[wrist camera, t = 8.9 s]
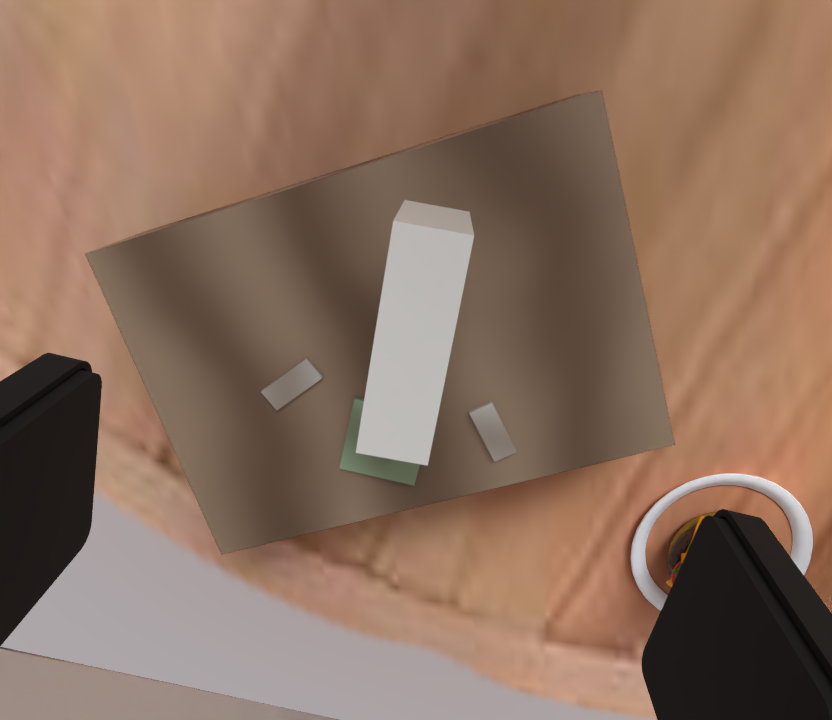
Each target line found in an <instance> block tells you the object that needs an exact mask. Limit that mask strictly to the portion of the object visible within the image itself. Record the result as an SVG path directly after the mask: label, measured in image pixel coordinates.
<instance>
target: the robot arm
mask: <svg viewBox="0 0 832 720" xmlns="http://www.w3.org/2000/svg"><path fill="white" fill-rule="evenodd" d="M101 388H102V381H101V377H100V375H99V374H96V373H92V369H91V365H90V364H89V363H88V362H86V361H82V360H77V359H73V358H69V357H65V356H60V355H56V354H52V353H47V354H44V355H42V356H41V357H39V358H37V359H36V360H34V361H33V362H31V363H29V364H28V365H26V366H24V367H23V368H21V369H20V370H18V371H16V372H15V373H13V374H12V375H10V376H8V377H7V378H5V379H3V380H2V381H0V646H1V645H2V644H3V642H4V641H5V640H6V639H7V638H8V636H9V635H10V634H11V633H12V631H13V630H14V629H15V628H16V627H17V626H18V624H19V623H20V622H21V621H22V619H23V618H24V617H25V616H26V615H27V613H28V612H29V611H30V610H31V609H32V607H33V606H34V605H35V604H36V603H37V602H38V600H39V599H40V598H41V597H42V596H43V594H44V593H45V592H46V591H47V589H48V588H49V587H50V586H51V585H52V584H53V582H54V581H55V580H56V579H57V577H58V576H59V575H60V574H61V573H62V572H63V570H64V569H65V568H66V567H67V566H68V564H69V563H70V562H71V561H72V560H73V558H74V557H75V556H76V554H77V553H78V552H79V551H80V550H81V549H82V547H83V546H84V544H85V542H86V540H87V537H88V535H89V532H90V528H91V522H92V509H93V495H94V482H95V468H96V455H97V441H98V428H99V414H100V401H101ZM642 672H643V676H644V679H645V682H646V685H647V688H648V692H649V695H650V698H651V701H652V704H653V707H654V710H655V713H656V716H657V719H658V720H832V614H831V612H830V611H829V610H828V608H827V607H826V605H825V604H824V603H823V601H822V600H821V599H820V597H819V596H818V595H817V593H816V592H815V590H814V589H813V588H812V586H811V585H810V584H809V582H808V581H807V579H806V578H805V577H804V575H803V574H802V573H801V571H800V570H799V568H798V567H797V566H796V564H795V563H794V562H793V560H792V559H791V557H790V556H789V555H788V553H787V552H786V551H785V549H784V548H783V546H782V545H781V544H780V542H779V541H778V540H777V538H776V537H775V535H774V534H773V533H772V531H771V530H770V529H769V527H768V526H767V524H766V523H765V522H764V521H763V520H762V519H761V518H758V517H754V516H750V515H745V514H741V513H737V512H733V511H728V510H724V509H722V510H719V511H718V512H717V513H716V514H715V515H714V516H709V515H708V516H706V517H704V518H703V519H702V521H701V523H700V524H699V527H698V529H697V531H696V533H695V536H694V538H693V540H692V542H691V545H690V547H689V549H688V551H687V554H686V556H685V558H684V560H683V563H682V565H681V567H680V569H679V572H678V574H677V576H676V578H675V581H674V583H673V585H672V588H671V590H670V592H669V594H668V597H667V599H666V601H665V603H664V606H663V608H662V610H661V612H660V615H659V617H658V619H657V621H656V624H655V626H654V628H653V630H652V633H651V635H650V637H649V639H648V642H647V644H646V646H645V649H644V652H643V657H642ZM0 720H338V719H332V718H328V717H323V716H319V715H314V714H310V713H305V712H301V711H296V710H291V709H286V708H282V707H277V706H273V705H268V704H264V703H259V702H254V701H250V700H245V699H241V698H236V697H232V696H227V695H222V694H218V693H213V692H209V691H204V690H199V689H195V688H190V687H186V686H181V685H177V684H172V683H167V682H163V681H158V680H153V679H148V678H143V677H139V676H134V675H129V674H125V673H120V672H115V671H110V670H106V669H101V668H97V667H92V666H87V665H83V664H78V663H73V662H68V661H64V660H59V659H55V658H50V657H45V656H41V655H36V654H31V653H26V652H22V651H17V650H12V649H8V648H3V647H0Z"/></svg>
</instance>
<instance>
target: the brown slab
mask: <svg viewBox="0 0 832 720" xmlns="http://www.w3.org/2000/svg"><path fill="white" fill-rule="evenodd" d="M404 200H408V201H414V202H419V203H425V204H430V205H436V206H441V207H447V208H452V209H457V210H463V211H468V212H470V216H471V221H472V227H473V232H474V240H473V244H472V249H471V254H470V259H469V264H468V269H467V274H466V279H465V284H464V289H463V294H462V299H461V304H460V309H459V314H458V319H457V324H456V329H455V333H454V338H453V343H452V348H451V353H450V358H449V363H448V368H447V373H446V378H445V383H444V388H443V393H442V398H441V403H440V408H439V413H438V418H437V422H436V427H435V432H434V437H433V442H432V447H431V452H430V457H429V462H428V466H427V465H421V464H416V463H410V462H404V461H399V460H393V459H388V458H382V457H376V456H371V455H365V454H360V453H356V447H357V441H358V435H359V428H360V422H361V416H362V410H363V404H364V398H365V392H366V385H367V379H368V373H369V367H370V361H371V355H372V348H373V342H374V336H375V330H376V324H377V318H378V311H379V305H380V299H381V293H382V287H383V281H384V275H385V268H386V262H387V256H388V250H389V244H390V238H391V231H392V225H393V220H394V218H395V217H396V215H397V213H398V211H399V209H400V208H401V206H402V204H403V202H404ZM85 255H86V257H87V259H88V262H89V264H90V266H91V268H92V270H93V273H94V275H95V277H96V279H97V281H98V284H99V286H100V288H101V290H102V292H103V295H104V297H105V299H106V301H107V303H108V306H109V308H110V310H111V312H112V314H113V317H114V319H115V321H116V323H117V325H118V328H119V330H120V332H121V334H122V336H123V339H124V341H125V343H126V345H127V347H128V350H129V352H130V354H131V356H132V359H133V361H134V363H135V365H136V367H137V370H138V372H139V374H140V376H141V378H142V381H143V383H144V385H145V387H146V389H147V392H148V394H149V396H150V398H151V400H152V403H153V405H154V407H155V409H156V411H157V414H158V416H159V418H160V420H161V422H162V425H163V427H164V429H165V431H166V433H167V436H168V438H169V440H170V442H171V444H172V447H173V449H174V451H175V453H176V455H177V458H178V460H179V462H180V464H181V466H182V469H183V471H184V473H185V475H186V477H187V480H188V482H189V484H190V486H191V488H192V491H193V493H194V495H195V497H196V499H197V502H198V504H199V506H200V508H201V510H202V513H203V515H204V517H205V519H206V521H207V524H208V526H209V528H210V530H211V533H212V535H213V537H214V539H215V541H216V544H217V546H218V548H219V550H220V552H221V555H222V554H226V553H231V552H235V551H239V550H243V549H247V548H251V547H255V546H259V545H264V544H268V543H272V542H276V541H280V540H284V539H288V538H292V537H297V536H301V535H305V534H309V533H313V532H317V531H321V530H325V529H330V528H334V527H338V526H342V525H346V524H350V523H354V522H358V521H363V520H367V519H371V518H375V517H379V516H383V515H387V514H391V513H396V512H400V511H404V510H408V509H412V508H416V507H420V506H424V505H429V504H433V503H437V502H441V501H445V500H449V499H453V498H457V497H462V496H466V495H470V494H474V493H478V492H482V491H486V490H490V489H495V488H499V487H503V486H507V485H511V484H515V483H519V482H523V481H528V480H532V479H536V478H540V477H544V476H548V475H552V474H556V473H561V472H565V471H569V470H573V469H577V468H581V467H585V466H589V465H593V464H598V463H602V462H606V461H610V460H614V459H618V458H622V457H626V456H631V455H635V454H639V453H643V452H647V451H651V450H655V449H659V448H664V447H668V446H672V445H675V442H674V438H673V433H672V428H671V423H670V418H669V413H668V409H667V404H666V399H665V394H664V389H663V384H662V379H661V375H660V370H659V365H658V360H657V355H656V350H655V346H654V341H653V336H652V331H651V326H650V321H649V317H648V312H647V307H646V302H645V297H644V292H643V287H642V283H641V278H640V273H639V268H638V263H637V258H636V254H635V249H634V244H633V239H632V234H631V229H630V225H629V220H628V215H627V210H626V205H625V200H624V196H623V191H622V186H621V181H620V176H619V171H618V166H617V162H616V157H615V152H614V147H613V142H612V137H611V133H610V128H609V123H608V118H607V113H606V108H605V104H604V99H603V94H602V91H596V92H590V93H585V94H579V95H575V96H572V97H569V98H566V99H562V100H559V101H556V102H553V103H550V104H547V105H543V106H540V107H537V108H534V109H531V110H528V111H525V112H521V113H518V114H515V115H512V116H509V117H506V118H502V119H499V120H496V121H493V122H490V123H487V124H484V125H480V126H477V127H474V128H471V129H468V130H465V131H461V132H458V133H455V134H452V135H449V136H446V137H443V138H439V139H436V140H433V141H430V142H427V143H424V144H420V145H417V146H414V147H411V148H408V149H405V150H401V151H398V152H395V153H392V154H389V155H386V156H383V157H379V158H376V159H373V160H370V161H367V162H364V163H360V164H357V165H354V166H351V167H348V168H345V169H342V170H338V171H335V172H332V173H329V174H326V175H323V176H319V177H316V178H313V179H310V180H307V181H304V182H301V183H297V184H294V185H291V186H288V187H285V188H282V189H278V190H275V191H272V192H269V193H266V194H263V195H259V196H256V197H253V198H250V199H247V200H244V201H241V202H237V203H234V204H231V205H228V206H225V207H222V208H218V209H215V210H212V211H209V212H206V213H203V214H200V215H196V216H193V217H190V218H187V219H184V220H181V221H177V222H174V223H171V224H168V225H165V226H162V227H159V228H155V229H152V230H149V231H146V232H143V233H140V234H137V235H134V236H132V237H129V238H126V239H124V240H121V241H118V242H116V243H113V244H110V245H108V246H105V247H102V248H99V249H97V250H94V251H91V252H89V253H86V254H85Z"/></svg>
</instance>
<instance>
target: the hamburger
mask: <svg viewBox="0 0 832 720" xmlns="http://www.w3.org/2000/svg"><path fill="white" fill-rule="evenodd" d="M718 485H737V486H742V487H747V488H751V489H754V490H756V491H759V492H761V493H763V494H765V495H766V496H768V497H770V498H771V499H773V500H774V501H775V502H776V503H777V504H778V505H779V506H780V507H781V508H782V509H783V511H784V513H785V514H786V516H787V518H788V519H789V522H790V526H791V529H792V541H793V544H792V549H791V554H790V557H791V559H792V560H793V562H794V563H795V564H796V566H797V567H798V568H799V570H800V571H801V573H802V574H803V575H804V574H805V572H806V570H807V568H808V565H809V563H810V559H811V554H812V549H813V536H812V529H811V525H810V522H809V518H808V516H807V514H806V512H805V511H804V509H803V507H802V506H801V504H800V503H799V502H798V501H797V500H796V499H795V498H794V497H793V496H792V494H791V493H790V492H788V491H787V490H785V489H784V488H782V487H780V486H779V485H777V484H776V483H774V482H771V481H768V480H766V479H763V478H761V477H757V476H752V475H746V474H728V473H723V474H717V475H711V476H705V477H702V478H699V479H696V480H693V481H690V482H687V483H685V484H683V485H681V486H679V487H677V488H676V489H674V490H672V491H670V492H669V493H668V494H666V495H665V496H664V497H662V498H661V499H660V500H659V501H657V502H656V503H655V504H654V505H653V507H652V508H651V509H650V510H649V511H648V512H647V513H646V514H645V516H644V518H643V519H642V521H641V523H640V524H639V526H638V528H637V530H636V533H635V536H634V539H633V542H632V547H631V557H630V560H631V567H632V574H633V576H634V579H635V581H636V584H637V586H638V588H639V589H640V591H641V592H642V594H643V595H644V596H645V598H646V599H647V600H648V601H649V602H650V603H651V604H652V605H654V606H655V607H656V608H657V609H659V610H660V611H661V610H662V608H663V606H664V603H665V601H666V599H667V597H668V595H667V594H665V593H664V592H663V591H662V590H661V589H660V588H659V587H658V586H657V585H656V584H655V582H654V581H653V579H652V578H651V576H650V574H649V571H648V569H647V566H646V558H645V549H646V541H647V538H648V535H649V532H650V530H651V528H652V526H653V525H654V523H655V521H656V520H657V518H658V517H659V516H660V515H661V514H662V513H663V512H664V510H665V509H666V508H667V507H669V506H670V505H671V504H673V503H674V502H675V501H676V500H678V499H680V498H681V497H683V496H685V495H687V494H689V493H691V492H694V491H697V490H700V489H703V488H706V487H712V486H718ZM716 513H717V512H712V513H708V514H703V515H701V516H698V517H696V518H694V519H692V520H691V521H689V522H688V523H686V524H685V525H684V526H683V527H682V528H681V529H679V531H678V532H677V533H676V535H675V536H674V538H673V540H672V542H671V544H670V548H669V553H668V570H669V575H670V577H671V578H670V579H669V580H668V581H667V582H666V584H667V585H669V586H670V587H671V588H672V585H673V583H674V581H675V578H676V576H677V574H678V572H679V569H680V567H681V565H682V563H683V560H684V558H685V556H686V554H687V551H688V549H689V547H690V545H691V542H692V540H693V538H694V536H695V533H696V531H697V529H698V527H699V524H700V523H701V521H702V519H703V518H704V517H706V516H708V515H709V516H714V515H715V514H716ZM777 540H778V541H779V542H780V539H777Z"/></svg>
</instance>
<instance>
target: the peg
mask: <svg viewBox="0 0 832 720" xmlns="http://www.w3.org/2000/svg"><path fill="white" fill-rule="evenodd" d="M473 240H474V232H473V227H472V221H471V216H470V212H468V211H463V210H457V209H452V208H447V207H441V206H436V205H430V204H425V203H419V202H414V201H408V200H404V202H403V204H402V206H401V208H400V209H399V211H398V213H397V215H396V217H395V218H394V220H393V225H392V231H391V238H390V244H389V250H388V256H387V262H386V268H385V275H384V281H383V287H382V293H381V299H380V305H379V311H378V318H377V324H376V330H375V336H374V342H373V348H372V355H371V361H370V367H369V373H368V379H367V385H366V392H365V398H364V404H363V410H362V416H361V422H360V428H359V435H358V441H357V447H356V453H360V454H365V455H371V456H376V457H382V458H388V459H393V460H399V461H404V462H410V463H416V464H421V465H427V466H428V462H429V457H430V452H431V447H432V442H433V437H434V432H435V427H436V422H437V418H438V413H439V408H440V403H441V398H442V393H443V388H444V383H445V378H446V373H447V368H448V363H449V358H450V353H451V348H452V343H453V338H454V333H455V329H456V324H457V319H458V314H459V309H460V304H461V299H462V294H463V289H464V284H465V279H466V274H467V269H468V264H469V259H470V254H471V249H472V244H473Z"/></svg>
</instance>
